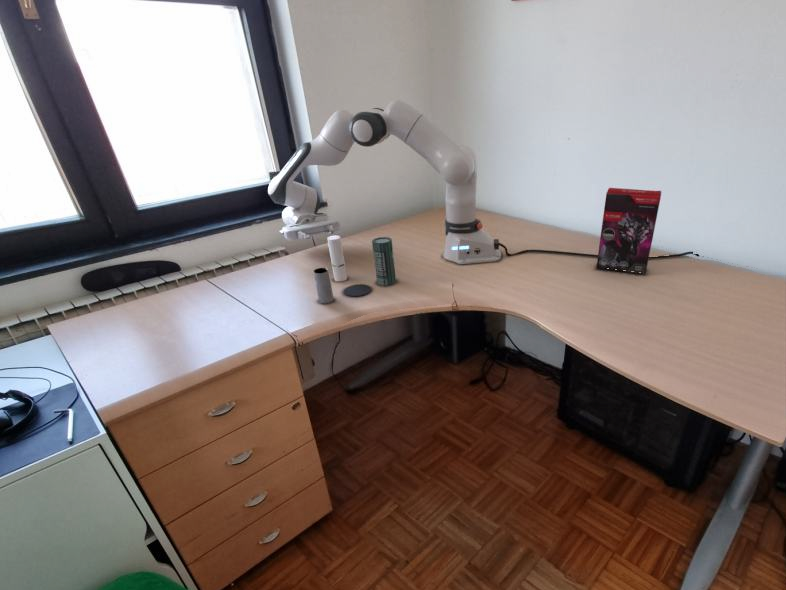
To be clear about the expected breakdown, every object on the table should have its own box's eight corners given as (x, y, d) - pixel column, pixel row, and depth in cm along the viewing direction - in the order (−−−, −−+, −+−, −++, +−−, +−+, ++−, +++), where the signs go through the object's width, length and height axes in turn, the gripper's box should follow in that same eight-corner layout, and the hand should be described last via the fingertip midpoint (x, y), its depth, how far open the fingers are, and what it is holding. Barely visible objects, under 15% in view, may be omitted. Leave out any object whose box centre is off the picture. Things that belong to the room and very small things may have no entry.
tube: (335, 276, 162) (328, 235, 154) (347, 276, 162) (341, 235, 154) (333, 281, 158) (326, 240, 150) (346, 281, 159) (339, 239, 151)
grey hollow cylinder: (336, 298, 147) (331, 268, 142) (328, 304, 143) (322, 274, 138) (324, 296, 148) (318, 266, 143) (316, 302, 145) (310, 272, 139)
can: (398, 280, 158) (394, 238, 150) (389, 287, 154) (384, 244, 146) (383, 277, 161) (379, 236, 153) (374, 284, 156) (368, 241, 148)
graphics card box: (594, 269, 163) (606, 191, 148) (597, 262, 168) (608, 186, 154) (645, 276, 157) (662, 195, 143) (646, 268, 163) (662, 190, 148)
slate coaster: (373, 285, 155) (373, 284, 155) (368, 296, 148) (368, 295, 147) (347, 285, 155) (347, 284, 155) (341, 297, 148) (340, 295, 148)
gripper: (275, 222, 164) (289, 231, 155) (329, 211, 175) (344, 219, 165) (279, 239, 167) (293, 249, 158) (331, 228, 178) (347, 236, 169)
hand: (319, 234), depth 162 cm, fingers open, 8 cm apart
